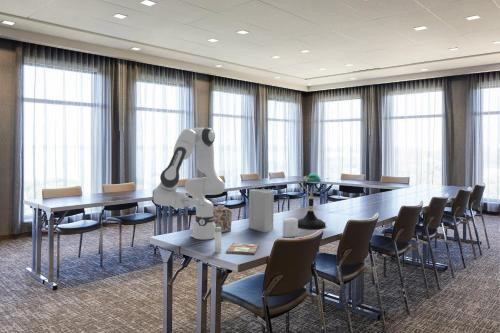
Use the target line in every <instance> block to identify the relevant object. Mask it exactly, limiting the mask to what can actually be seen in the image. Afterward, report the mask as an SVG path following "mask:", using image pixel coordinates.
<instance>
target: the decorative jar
mask: <svg viewBox="0 0 500 333" xmlns="http://www.w3.org/2000/svg"><path fill="white" fill-rule="evenodd" d="M232 214H233V212H232V211H231V210H230V208H229V207H226V206H225V204H218V205H217V206H216V207H214V206H213V215H214V222H215V224H216V227H221V233H227V232H231V231H232V217H233V216H232Z"/></svg>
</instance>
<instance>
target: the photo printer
mask: <svg viewBox="0 0 500 333" xmlns="http://www.w3.org/2000/svg"><path fill="white" fill-rule="evenodd" d="M298 220H299V219H297V218H294V217H287V218H285V219H284V220H283V221H282V222H283V223H282V238H291V237H292V238H293V237H298V233H299V232H298V229H299V227H298Z"/></svg>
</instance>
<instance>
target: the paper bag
mask: <svg viewBox="0 0 500 333" xmlns="http://www.w3.org/2000/svg"><path fill="white" fill-rule="evenodd" d="M248 190H249V194H248V195H249V196H248V198H249V199H248V201H249V202H248V203H249V204H248V228H249V229H253V230H254V231H255V230H256V231H260V232H262V233H270V232H271V231H272V230H273V229H274V213H275V212H274V211H275V208H274V207H275V206H274V205H275V203H274V202H275V197H274V196H275V189H256V188H255V189H253V188H252V189H248Z"/></svg>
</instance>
